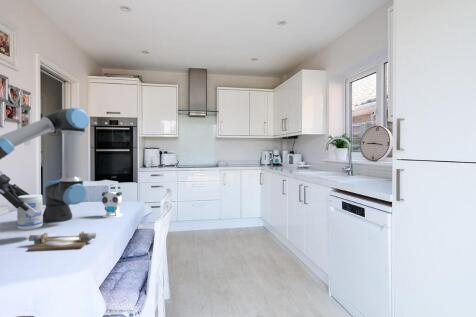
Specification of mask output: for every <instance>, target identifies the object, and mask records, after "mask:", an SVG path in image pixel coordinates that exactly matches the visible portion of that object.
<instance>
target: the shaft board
mask: <svg viewBox="0 0 476 317" xmlns="http://www.w3.org/2000/svg"><path fill="white" fill-rule="evenodd" d="M96 237H97V234H96V232H90V233H89V232H87V233H86V232H85V231H81V232H79V234H78V235H63V236H61V235H60V236H48V232H44V233H43V234H34V235H33V234H30V235H29V236H28V241H29V242H33V245H31V246H29V247H28V248H27V252H38V251H39V252H40V251H63V250H81V249H83V248H84V247H85V246H86V245H87V244H88V243H89V242H90V241H92V240H93V239H96Z"/></svg>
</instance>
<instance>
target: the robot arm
mask: <svg viewBox="0 0 476 317" xmlns="http://www.w3.org/2000/svg"><path fill="white" fill-rule="evenodd" d="M89 125H90V116H89V115H88V113H87V112H86V110H84V109H82V108H79V107H70V108H63V109H62V108H61V109H58V110H56V111H54V112H51V113H49V114H47V115H45V116H43V117H41V119H40V120H37V121H35V122H33V123H29V124H27V125H25V126H21V127H19V128H17V129H15V130H11V131H8V132H7V133H4V134H2V135H0V160H2V159H4V158H5V157H7V156H8V155H10V154H11V153H12V152H13V151H15V147H17V146H20V145H22V144H24V143H26V142H29V141H31V140H34V139H36V138H39V137H41V136H43V135H45V134H47V133H48V134H49V133H54V132H57V131H60V132H61V133H62V134H63V153H62V154H63V156H62V157H63V159H62V177H61V178H60V179H59V180H50V181H46V183H45V187H44V191H45V195H44V196H45V197H44V198H45V203H44V204H45V207H44V206H43V210H44V211H43V223H58V222H65V221H70V220H71V219H73V213H72V211H71V207H70V205H78V204H79V205H80V203H82V202H83V201H84V200H85V198H86V197H87V193H88V192H87V187H85V185H84V180H83V179H82V178H81V162H82V157H81V156H82V155H81V154H82V138H83V135H84V134H85V132H86V131H85V130H86V128H87V126H89ZM10 181H11V178H10V177H9V176H7V175H6V174H5V173H3V172H2V171H1V170H0V196H2V197H3V198H4V199H6V200H7V201H8V202H9V203H10V204H11V205H12V206H13V208H15V209H17V208H21V209H22V210H23V211H25V212H26V213H27V214H29V215H30V216H31V217H32V216H33V215H34V214H36V213H37V211H35V210H34V209H33V208H31V207H30V206H29V205H27V204H26V203H23V202H22V201H21V199H20V198H19V197H18V196H23V195H31V194H30V193H28V191H26V190H24V189H23V188H21V187H19V185H17V184H16V183H14V184H11V183H9V182H10Z"/></svg>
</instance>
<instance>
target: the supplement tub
mask: <svg viewBox="0 0 476 317" xmlns="http://www.w3.org/2000/svg"><path fill="white" fill-rule="evenodd" d="M18 197H19V198H20V199H21V201H22V202H23V203H26V204H27V205H29V206H30V207H31V208H33V209H34V210H35V211H37V213H36V214H34V215H33V216H32V217H31V216H30V215H29V214H27V213H26V212H25V211H23V210H22V209H21V208H16V212H17V215H16V216H17V218H16V219H17V223H16V225H17V229H18V230H33V229H34V230H35V229H37V228H40V227H42V226H43V224H44V222H43V213H44V211H43V210H44V208H43V207H44V206H43V205H44V203H43V195H42V194H35V193H34V194H30V195H23V196H18Z"/></svg>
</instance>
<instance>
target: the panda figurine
mask: <svg viewBox="0 0 476 317" xmlns="http://www.w3.org/2000/svg"><path fill="white" fill-rule="evenodd" d="M122 195H123V193H122V192H121V191H118V192H116V191H111V192H109V191H103V192H102V193H101V196H102V198H101V202H102V204H103V206H104V210H105V212H106V214H104V215H102V217H103V218H104V217H105V218H104V219H114V217H116V218H120V217H122V216H123V213H121V212H120V205H122V202H123V197H122Z"/></svg>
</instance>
